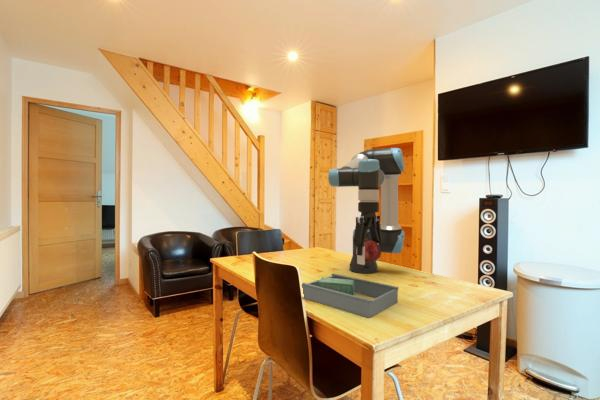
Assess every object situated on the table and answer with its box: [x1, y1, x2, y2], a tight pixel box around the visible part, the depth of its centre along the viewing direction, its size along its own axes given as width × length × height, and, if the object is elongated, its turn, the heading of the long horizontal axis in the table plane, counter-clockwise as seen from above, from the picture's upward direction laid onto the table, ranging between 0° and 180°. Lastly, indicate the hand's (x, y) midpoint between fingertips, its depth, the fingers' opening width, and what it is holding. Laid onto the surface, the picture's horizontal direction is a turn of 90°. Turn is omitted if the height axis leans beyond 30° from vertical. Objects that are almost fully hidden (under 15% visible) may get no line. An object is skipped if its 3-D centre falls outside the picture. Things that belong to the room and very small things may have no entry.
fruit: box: [356, 237, 382, 263], centre depth 116 cm, size 9×10×10 cm
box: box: [318, 276, 356, 296], centre depth 122 cm, size 7×14×8 cm, turn 75°
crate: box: [301, 273, 399, 319], centre depth 121 cm, size 21×30×6 cm
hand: (368, 262), depth 116 cm, fingers closed on fruit, 9 cm apart
